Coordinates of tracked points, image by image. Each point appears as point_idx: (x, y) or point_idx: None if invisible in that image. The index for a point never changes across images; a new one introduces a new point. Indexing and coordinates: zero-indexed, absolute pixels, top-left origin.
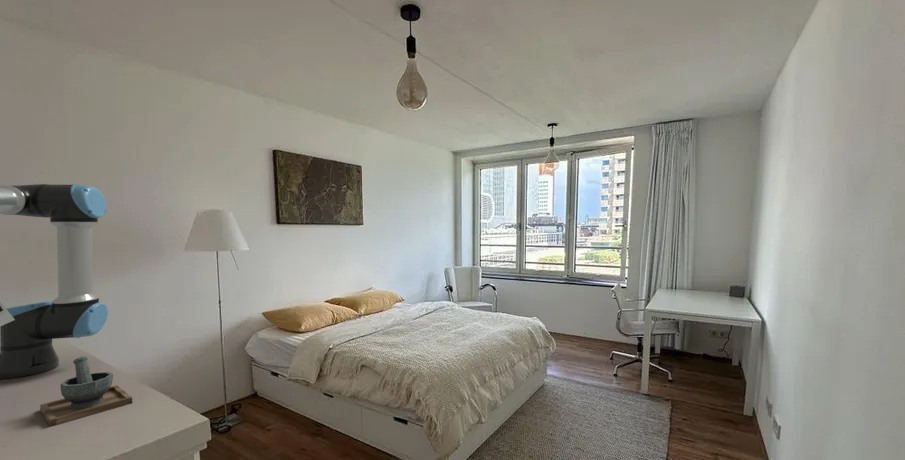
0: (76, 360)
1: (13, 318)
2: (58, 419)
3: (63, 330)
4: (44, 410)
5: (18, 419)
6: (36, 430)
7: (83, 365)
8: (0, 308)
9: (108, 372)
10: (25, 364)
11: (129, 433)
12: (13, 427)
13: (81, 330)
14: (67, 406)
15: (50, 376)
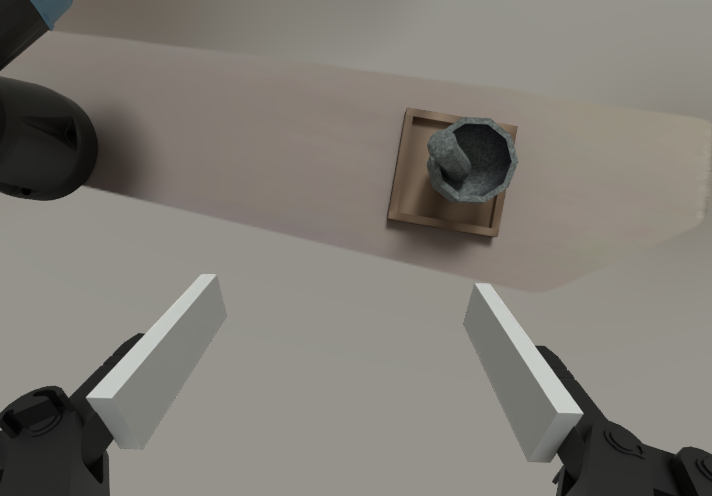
0: (450, 154)
1: (494, 290)
2: (497, 227)
3: (16, 36)
4: (433, 225)
5: (401, 249)
6: (487, 251)
7: (457, 149)
8: (561, 365)
9: (468, 118)
10: (63, 152)
11: (645, 192)
12: (436, 263)
13: (61, 2)
14: (428, 194)
15: (151, 136)
